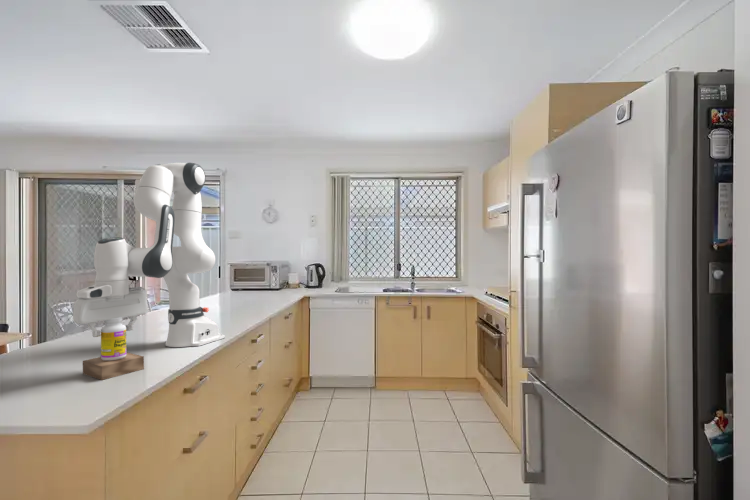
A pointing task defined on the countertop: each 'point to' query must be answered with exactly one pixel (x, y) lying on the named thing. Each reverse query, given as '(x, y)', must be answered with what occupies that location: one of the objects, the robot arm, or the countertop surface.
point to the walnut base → (113, 366)
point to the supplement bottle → (113, 340)
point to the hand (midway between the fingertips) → (113, 333)
